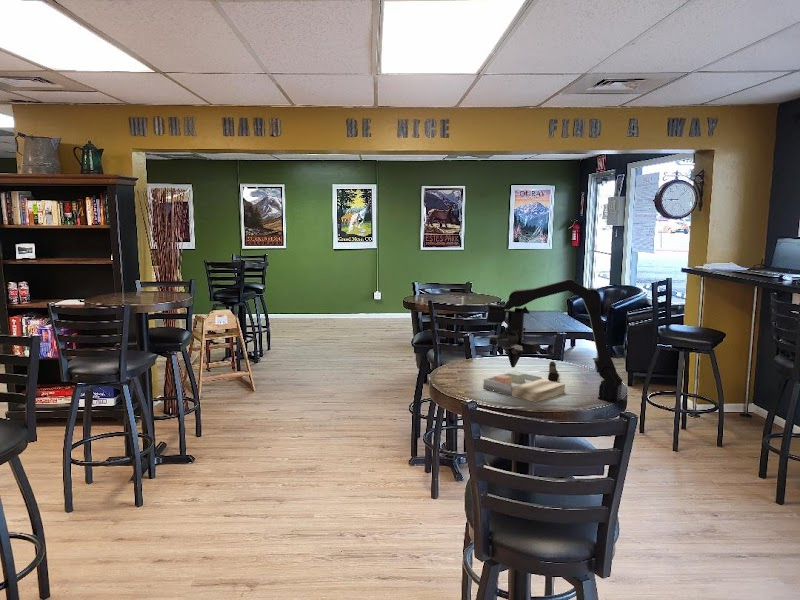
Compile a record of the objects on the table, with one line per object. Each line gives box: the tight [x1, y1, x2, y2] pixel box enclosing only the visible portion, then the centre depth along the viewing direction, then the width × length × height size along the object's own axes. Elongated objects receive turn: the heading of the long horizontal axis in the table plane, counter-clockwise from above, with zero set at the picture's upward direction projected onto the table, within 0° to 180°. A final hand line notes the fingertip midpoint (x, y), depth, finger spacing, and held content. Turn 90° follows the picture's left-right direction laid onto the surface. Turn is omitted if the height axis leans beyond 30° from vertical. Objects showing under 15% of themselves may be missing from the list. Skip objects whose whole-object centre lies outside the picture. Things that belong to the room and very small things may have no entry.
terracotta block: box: [494, 374, 512, 385], centre depth 208 cm, size 4×4×3 cm
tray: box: [482, 370, 543, 397], centre depth 210 cm, size 12×20×4 cm, turn 134°
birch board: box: [512, 378, 566, 403], centre depth 202 cm, size 10×19×3 cm, turn 134°
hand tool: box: [547, 361, 560, 382], centre depth 229 cm, size 19×4×5 cm, turn 164°
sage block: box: [507, 370, 526, 383], centre depth 213 cm, size 4×4×3 cm
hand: (512, 367), depth 205 cm, fingers closed
